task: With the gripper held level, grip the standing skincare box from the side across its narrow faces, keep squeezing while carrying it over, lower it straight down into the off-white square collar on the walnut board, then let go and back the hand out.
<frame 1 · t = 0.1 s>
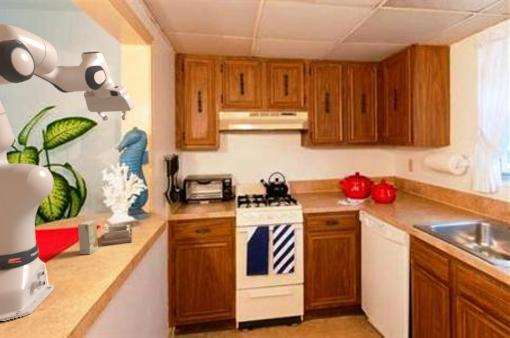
hand: (115, 119, 142), 54 cm above the counter, tool tilted 30°, fingers open, 8 cm apart
skincare box: (89, 252, 127), on the counter
collar stand: (117, 238, 144), on the counter
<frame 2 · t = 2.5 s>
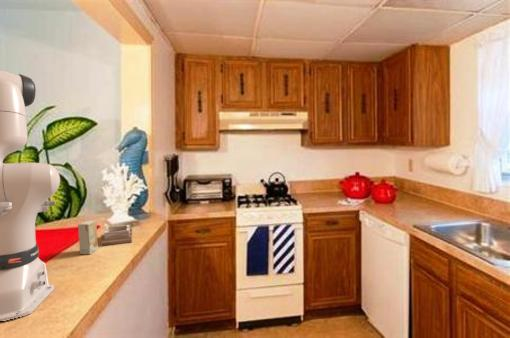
hand: (51, 205, 121), 20 cm above the counter, tool horizontal, fingers open, 8 cm apart
nothing on the counter moved.
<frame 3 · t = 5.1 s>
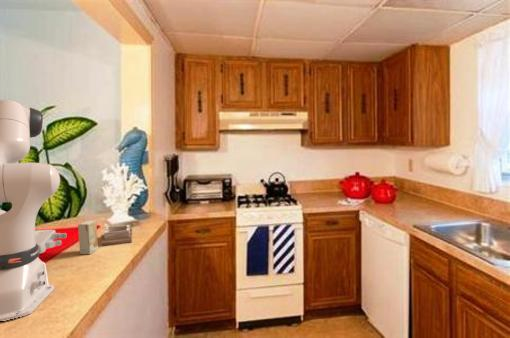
hand: (63, 239, 123), 6 cm above the counter, tool horizontal, fingers open, 8 cm apart
nothing on the counter moved.
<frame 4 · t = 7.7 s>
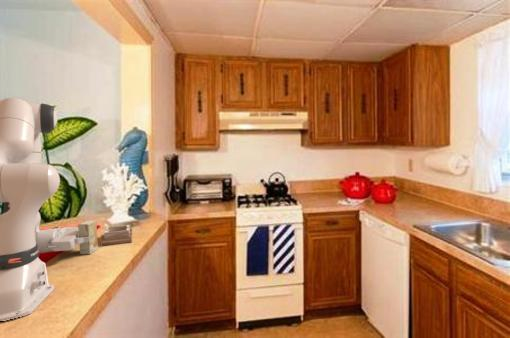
hand: (90, 235, 127), 7 cm above the counter, tool horizontal, fingers closed on skincare box, 7 cm apart
skincare box: (89, 252, 127), on the counter, touching gripper
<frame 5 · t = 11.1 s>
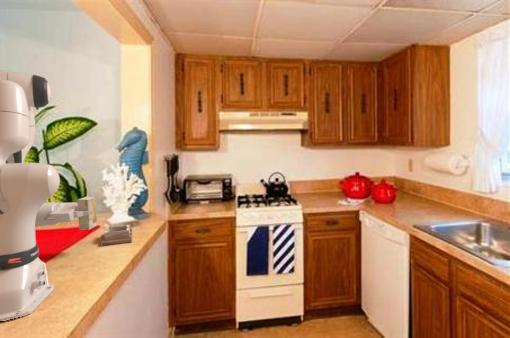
hand: (89, 210, 126), 17 cm above the counter, tool horizontal, fingers closed on skincare box, 7 cm apart
skincare box: (88, 228, 127), point 10 cm above the counter, touching gripper
when the fingers open (9 cm above the counter, at t = 15.0 s): skincare box stays where it is, resting on collar stand.
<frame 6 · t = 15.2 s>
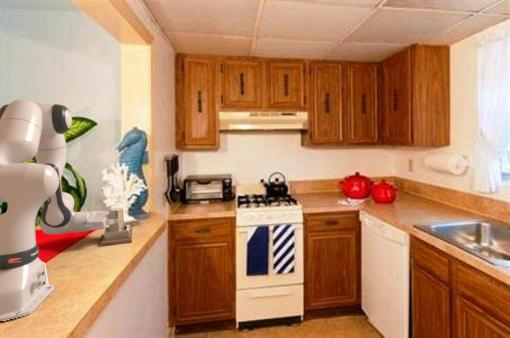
hand: (118, 218, 143), 9 cm above the counter, tool horizontal, fingers open, 8 cm apart
skincare box: (117, 235, 144), point 1 cm above the counter, touching collar stand
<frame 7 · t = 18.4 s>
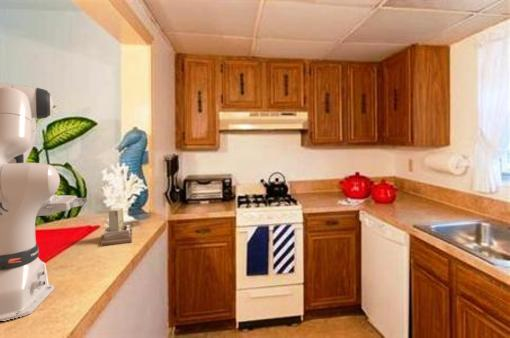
hand: (85, 201, 137), 18 cm above the counter, tool horizontal, fingers open, 8 cm apart
nothing on the counter moved.
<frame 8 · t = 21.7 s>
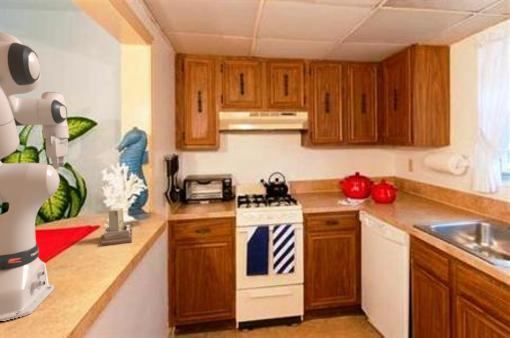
hand: (58, 167, 128), 34 cm above the counter, tool pointing down, fingers open, 8 cm apart
nothing on the counter moved.
at the end: skincare box 0.1 cm off-centre on the collar stand, point 1.3 cm above the collar stand's base; skincare box tilted 0°; the gripper is holding nothing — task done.
